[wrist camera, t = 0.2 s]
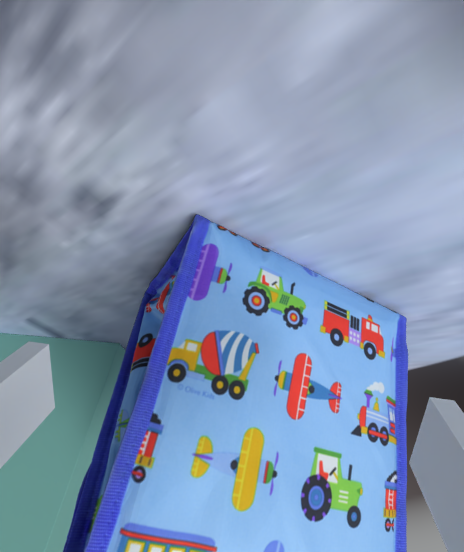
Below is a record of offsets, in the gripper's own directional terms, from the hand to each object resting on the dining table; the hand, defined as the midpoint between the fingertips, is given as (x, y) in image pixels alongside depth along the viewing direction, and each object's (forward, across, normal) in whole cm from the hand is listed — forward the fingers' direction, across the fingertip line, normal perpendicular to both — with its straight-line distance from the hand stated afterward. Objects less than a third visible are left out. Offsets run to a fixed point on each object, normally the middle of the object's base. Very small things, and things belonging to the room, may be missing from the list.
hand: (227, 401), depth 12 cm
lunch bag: (+22, +2, -4) cm, 22 cm away
